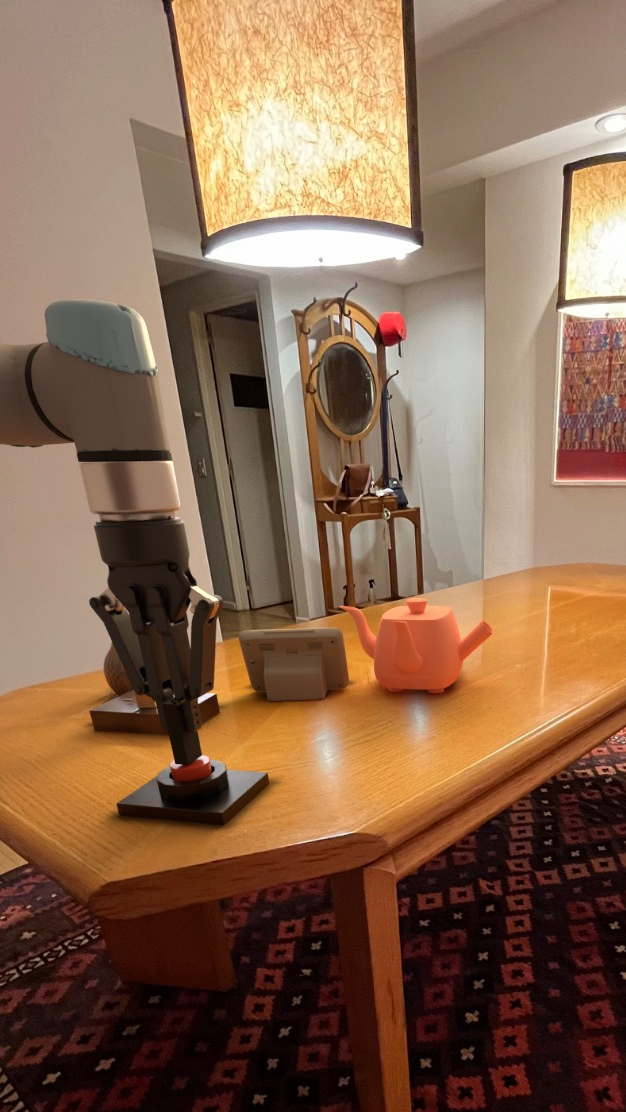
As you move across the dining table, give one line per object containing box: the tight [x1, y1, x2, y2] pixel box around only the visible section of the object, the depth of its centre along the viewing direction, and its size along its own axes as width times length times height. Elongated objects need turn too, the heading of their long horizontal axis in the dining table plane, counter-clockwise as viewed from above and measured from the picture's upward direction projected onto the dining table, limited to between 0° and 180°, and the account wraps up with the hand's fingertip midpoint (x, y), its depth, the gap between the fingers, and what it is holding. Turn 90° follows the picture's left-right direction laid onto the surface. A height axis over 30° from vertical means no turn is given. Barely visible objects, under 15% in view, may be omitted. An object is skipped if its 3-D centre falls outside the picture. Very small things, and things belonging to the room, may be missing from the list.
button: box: [169, 754, 212, 781], centre depth 71 cm, size 4×4×2 cm
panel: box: [88, 690, 221, 736], centre depth 98 cm, size 14×10×3 cm
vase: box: [103, 642, 134, 696], centre depth 109 cm, size 7×7×9 cm
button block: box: [116, 759, 270, 826], centre depth 72 cm, size 12×10×4 cm
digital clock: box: [238, 627, 350, 702], centre depth 106 cm, size 16×9×11 cm, turn 81°
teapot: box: [339, 597, 495, 694], centre depth 109 cm, size 18×18×14 cm
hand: (188, 759), depth 71 cm, fingers closed
